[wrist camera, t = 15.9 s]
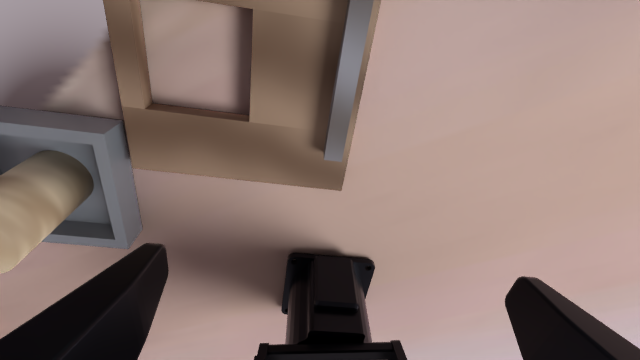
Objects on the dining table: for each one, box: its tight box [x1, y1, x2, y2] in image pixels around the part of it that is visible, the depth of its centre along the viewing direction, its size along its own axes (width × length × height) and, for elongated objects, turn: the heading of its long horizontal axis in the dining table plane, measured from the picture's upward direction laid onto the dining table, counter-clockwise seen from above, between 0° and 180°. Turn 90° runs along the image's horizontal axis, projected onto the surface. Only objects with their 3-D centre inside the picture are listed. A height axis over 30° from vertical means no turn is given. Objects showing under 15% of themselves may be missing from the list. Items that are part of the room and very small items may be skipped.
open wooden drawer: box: [103, 0, 381, 191], centre depth 15 cm, size 18×12×2 cm
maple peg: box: [0, 150, 94, 274], centre depth 17 cm, size 4×4×6 cm
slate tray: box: [0, 106, 142, 249], centre depth 19 cm, size 8×8×2 cm
